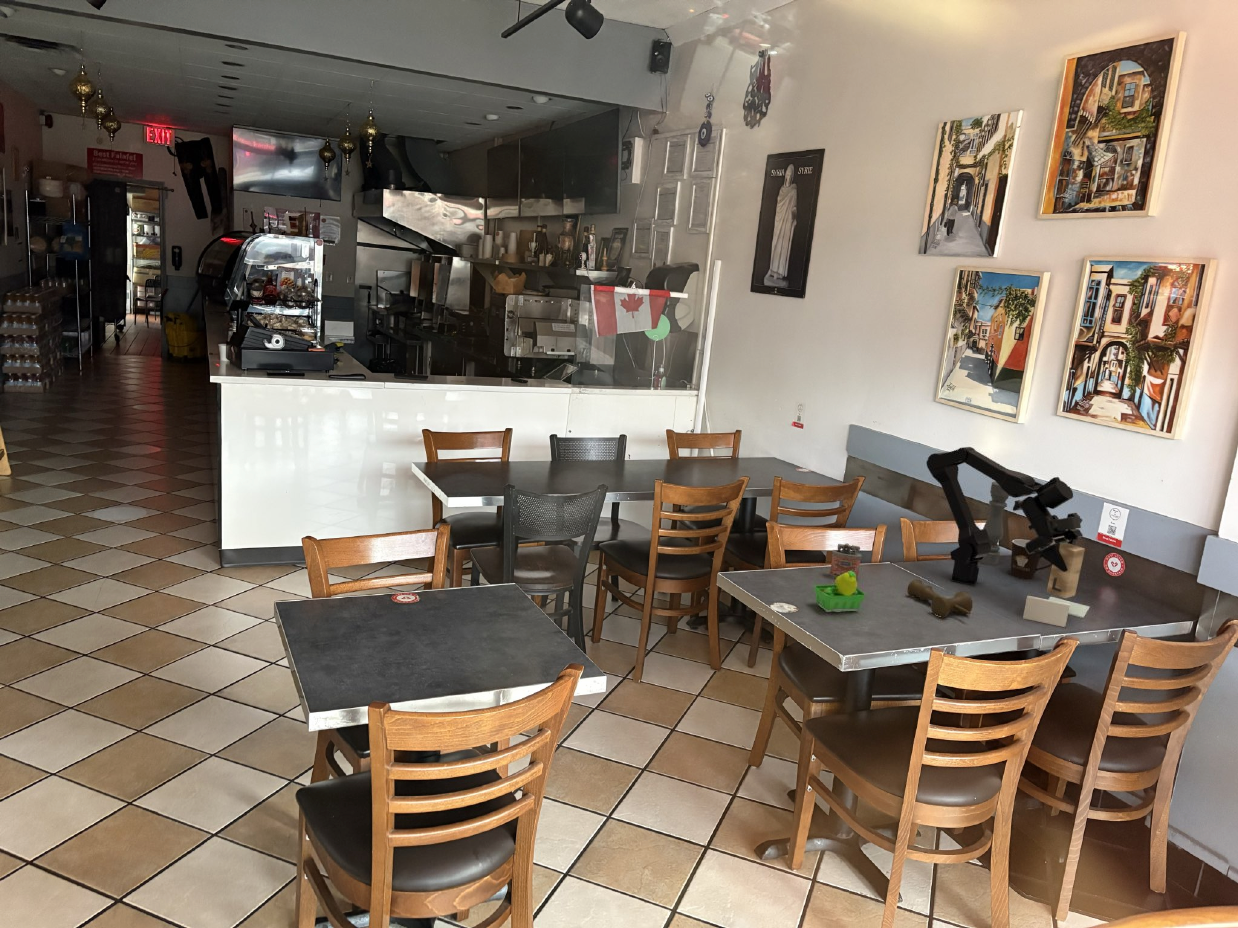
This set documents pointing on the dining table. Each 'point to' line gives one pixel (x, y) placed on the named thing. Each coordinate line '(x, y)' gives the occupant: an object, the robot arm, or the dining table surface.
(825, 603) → the fruit basket
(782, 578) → the dining table surface
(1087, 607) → the display mat
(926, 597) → the kendama
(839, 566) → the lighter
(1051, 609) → the screen
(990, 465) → the robot arm
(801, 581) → the dining table surface
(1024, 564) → the coffee mug
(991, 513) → the candle holder
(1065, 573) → the tan wooden tall block
